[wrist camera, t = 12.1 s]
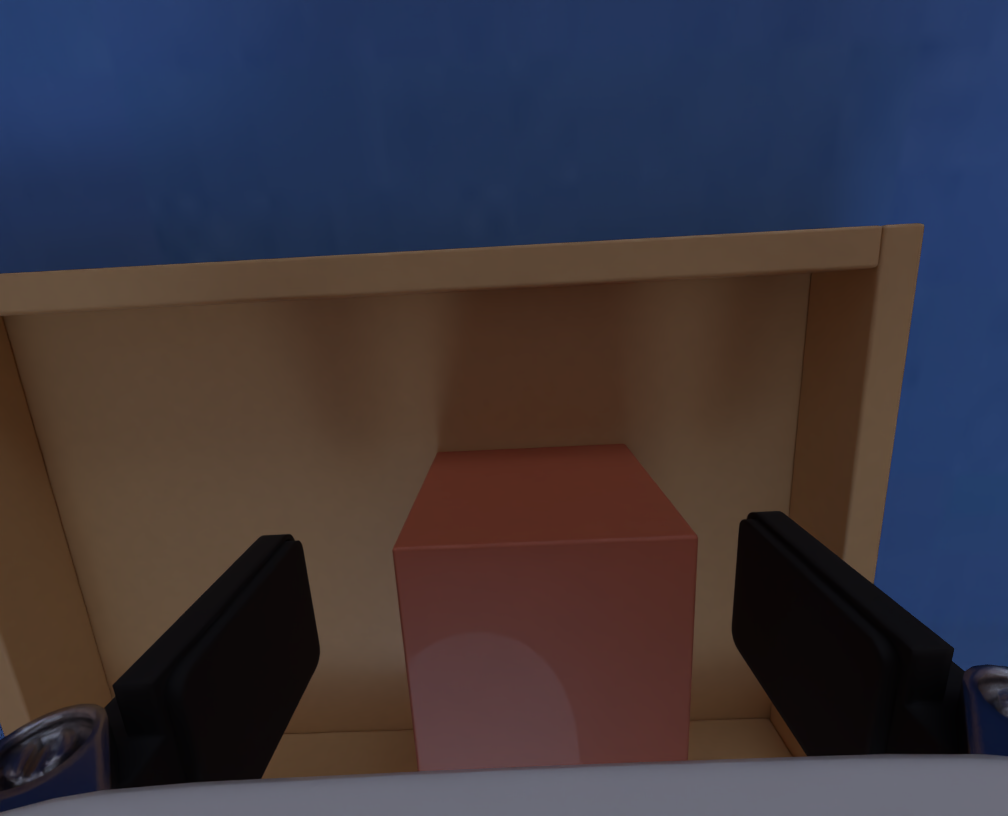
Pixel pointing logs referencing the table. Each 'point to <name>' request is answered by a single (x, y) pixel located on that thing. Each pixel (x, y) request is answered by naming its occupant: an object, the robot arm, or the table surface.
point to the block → (546, 610)
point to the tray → (424, 440)
